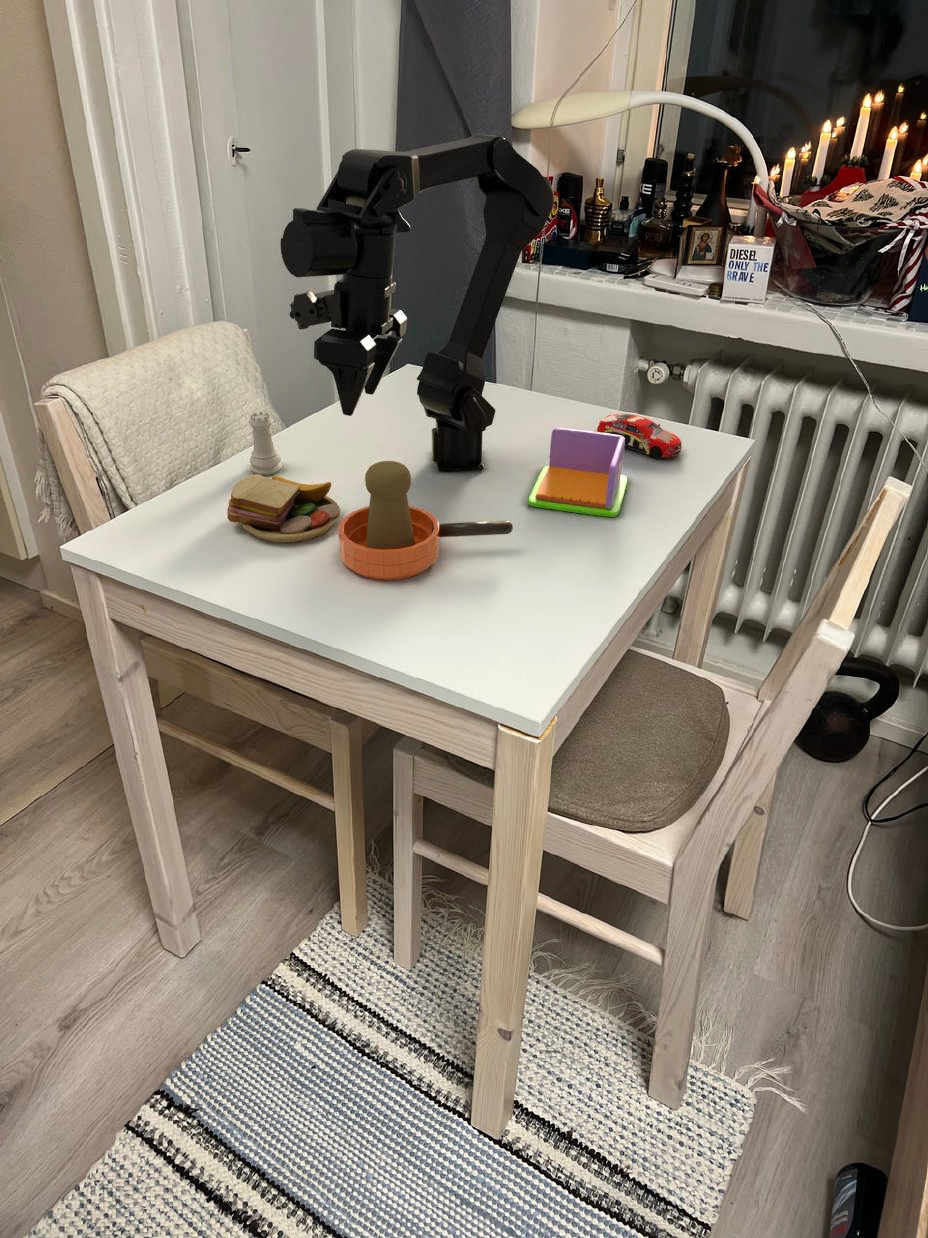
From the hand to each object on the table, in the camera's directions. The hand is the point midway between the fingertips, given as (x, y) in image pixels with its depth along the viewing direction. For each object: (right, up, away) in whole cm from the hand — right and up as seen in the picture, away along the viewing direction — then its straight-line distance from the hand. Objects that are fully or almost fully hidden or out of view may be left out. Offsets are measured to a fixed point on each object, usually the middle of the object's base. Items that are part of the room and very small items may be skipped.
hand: (358, 403), depth 114 cm
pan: (+4, -19, -5) cm, 20 cm away
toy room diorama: (+28, -10, +9) cm, 32 cm away
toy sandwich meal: (-9, -15, +2) cm, 18 cm away
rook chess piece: (-15, -6, +14) cm, 21 cm away
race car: (+39, -1, +22) cm, 45 cm away
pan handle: (+14, -17, -5) cm, 23 cm away
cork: (+4, -19, -5) cm, 20 cm away
